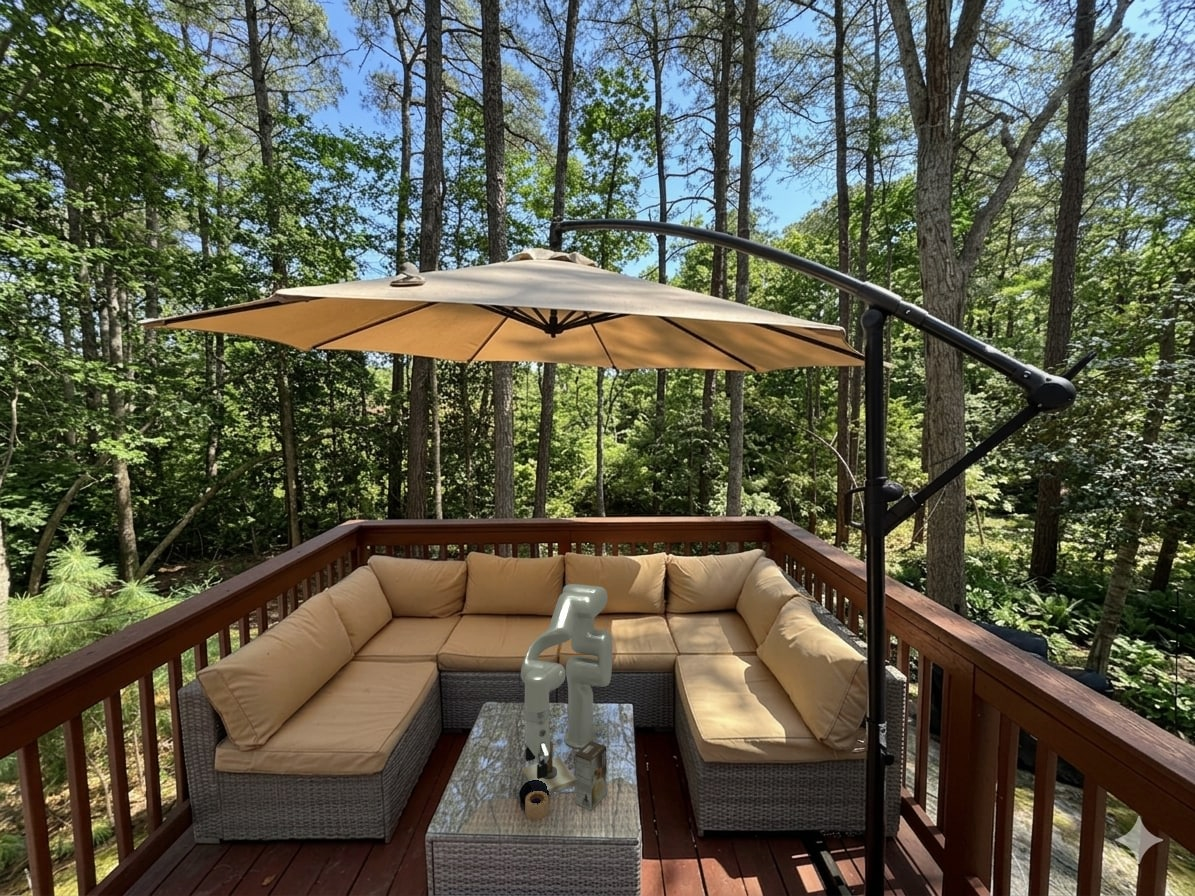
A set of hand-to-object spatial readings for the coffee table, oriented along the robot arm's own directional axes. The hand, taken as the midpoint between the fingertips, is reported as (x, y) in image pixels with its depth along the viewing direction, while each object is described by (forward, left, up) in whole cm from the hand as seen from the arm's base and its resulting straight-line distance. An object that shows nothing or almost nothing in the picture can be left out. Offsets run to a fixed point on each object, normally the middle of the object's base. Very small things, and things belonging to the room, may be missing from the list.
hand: (536, 768), depth 160 cm
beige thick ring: (0, 0, -14) cm, 14 cm away
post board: (-9, -12, -14) cm, 21 cm away
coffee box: (-18, +3, -14) cm, 23 cm away
